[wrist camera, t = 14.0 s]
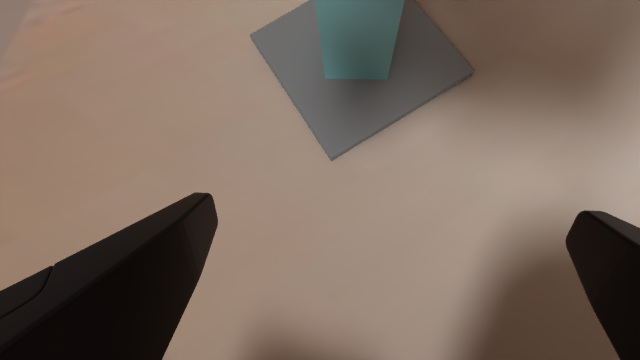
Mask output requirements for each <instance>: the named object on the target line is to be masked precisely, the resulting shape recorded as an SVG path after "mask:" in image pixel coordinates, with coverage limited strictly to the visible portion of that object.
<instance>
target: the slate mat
mask: <svg viewBox="0 0 640 360" xmlns="http://www.w3.org/2000/svg"><path fill="white" fill-rule="evenodd" d="M250 37H251V39H252V41H253V42H254V44H255V45H256V47H257V48H258V50H259V51H260V53H261V55H262V56H263V58H264V59H265V61H266V62H267V64H268V65H269V67H270V68H271V70H272V71H273V73H274V74H275V76H276V77H277V79H278V80H279V82H280V84H281V85H282V87H283V88H284V90H285V91H286V93H287V94H288V96H289V97H290V99H291V100H292V102H293V103H294V105H295V106H296V108H297V110H298V111H299V113H300V114H301V116H302V117H303V119H304V120H305V122H306V123H307V125H308V126H309V128H310V129H311V131H312V132H313V134H314V135H315V137H316V139H317V140H318V142H319V143H320V145H321V146H322V148H323V149H324V151H325V152H326V154H327V155H328V157H329V158H330V160H331V161H332V160H334V159H336V158H337V157H339V156H341V155H342V154H344V153H345V152H347V151H349V150H350V149H352V148H354V147H355V146H357V145H359V144H360V143H362V142H363V141H365V140H367V139H368V138H370V137H372V136H373V135H375V134H376V133H378V132H380V131H381V130H383V129H385V128H386V127H388V126H390V125H391V124H393V123H394V122H396V121H398V120H399V119H401V118H403V117H404V116H406V115H407V114H409V113H411V112H412V111H414V110H416V109H417V108H419V107H421V106H422V105H424V104H425V103H427V102H429V101H430V100H432V99H434V98H435V97H437V96H438V95H440V94H442V93H443V92H445V91H447V90H448V89H450V88H451V87H453V86H455V85H456V84H458V83H460V82H461V81H463V80H465V79H466V78H468V77H469V76H471V75H472V74H473V73H474V71H475V70H474V69H473V67H472V66H471V65H470V64H469V63H468V62H467V60H466V59H465V58H464V57H463V56H462V55H461V53H460V52H459V51H458V50H457V49H456V48H455V47H454V45H453V44H452V43H451V42H450V41H449V40H448V38H447V37H446V36H445V35H444V34H443V33H442V31H441V30H440V29H439V28H438V27H437V26H436V25H435V23H434V22H433V21H432V20H431V19H430V18H429V16H428V15H427V14H426V13H425V12H424V11H423V10H422V8H421V7H420V6H419V5H418V4H417V3H416V1H415V0H404V4H403V9H402V14H401V18H400V23H399V28H398V32H397V37H396V42H395V46H394V51H393V56H392V60H391V65H390V70H389V74H388V79H325V74H324V66H323V59H322V51H321V44H320V36H319V29H318V21H317V14H316V6H315V0H309V1H307V2H306V3H304V4H302V5H300V6H299V7H297V8H295V9H294V10H292V11H290V12H288V13H287V14H285V15H283V16H282V17H280V18H278V19H276V20H275V21H273V22H271V23H269V24H268V25H266V26H264V27H263V28H261V29H259V30H257V31H256V32H254V33H252V34H251V35H250Z"/></svg>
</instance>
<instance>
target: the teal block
mask: <svg viewBox="0 0 640 360" xmlns="http://www.w3.org/2000/svg"><path fill="white" fill-rule="evenodd" d="M403 4H404V0H315V6H316V14H317V21H318V29H319V36H320V44H321V51H322V59H323V66H324V74H325V79H388V74H389V70H390V65H391V60H392V56H393V51H394V46H395V42H396V37H397V32H398V28H399V23H400V18H401V14H402V9H403Z"/></svg>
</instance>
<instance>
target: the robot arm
mask: <svg viewBox="0 0 640 360" xmlns="http://www.w3.org/2000/svg"><path fill="white" fill-rule="evenodd" d="M217 225H218V218H217V213H216V209H215V204H214V200H213V197H212V195H211V194H209V193H193V194H191V195H189V196H187V197H185V198H183V199H181V200H179V201H177V202H175V203H173V204H171V205H169V206H167V207H165V208H164V209H162V210H160V211H158V212H156V213H154V214H152V215H150V216H148V217H146V218H144V219H142V220H140V221H138V222H136V223H134V224H132V225H130V226H128V227H126V228H124V229H122V230H120V231H118V232H116V233H114V234H112V235H110V236H109V237H107V238H105V239H103V240H101V241H99V242H97V243H95V244H93V245H91V246H89V247H87V248H85V249H83V250H81V251H79V252H77V253H75V254H73V255H71V256H69V257H67V258H65V259H63V260H61V261H59V262H57V263H56V264H55V265H54V266H49V267H47V268H45V269H43V270H42V271H40V272H38V273H36V274H34V275H32V276H30V277H28V278H26V279H24V280H22V281H20V282H18V283H16V284H14V285H12V286H9V287H7V288H5V289H3V290H1V291H0V360H162V358H163V356H164V354H165V352H166V349H167V347H168V345H169V343H170V341H171V339H172V337H173V334H174V332H175V330H176V328H177V326H178V324H179V322H180V319H181V317H182V315H183V313H184V311H185V309H186V307H187V304H188V302H189V300H190V298H191V296H192V294H193V292H194V289H195V287H196V285H197V283H198V280H199V278H200V276H201V273H202V270H203V268H204V265H205V262H206V259H207V256H208V253H209V250H210V247H211V244H212V241H213V238H214V235H215V232H216V229H217ZM566 247H567V250H568V252H569V254H570V257H571V259H572V262H573V264H574V266H575V269H576V271H577V274H578V276H579V278H580V281H581V283H582V286H583V288H584V290H585V293H586V295H587V297H588V300H589V302H590V304H591V306H592V308H593V310H594V312H595V314H596V316H597V318H598V319H599V321H600V323H601V325H602V327H603V329H604V330H605V332H606V334H607V336H608V338H609V340H610V341H611V343H612V345H613V347H614V349H615V351H616V352H617V354H618V356H619V358H620V360H640V228H639V227H636V226H634V225H632V224H630V223H628V222H625V221H623V220H621V219H619V218H616V217H614V216H612V215H610V214H608V213H605V212H602V211H582V212H580V213H579V214H578V215H577V217H576V219H575V221H574V223H573V225H572V227H571V229H570V231H569V233H568V235H567V237H566Z"/></svg>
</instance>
